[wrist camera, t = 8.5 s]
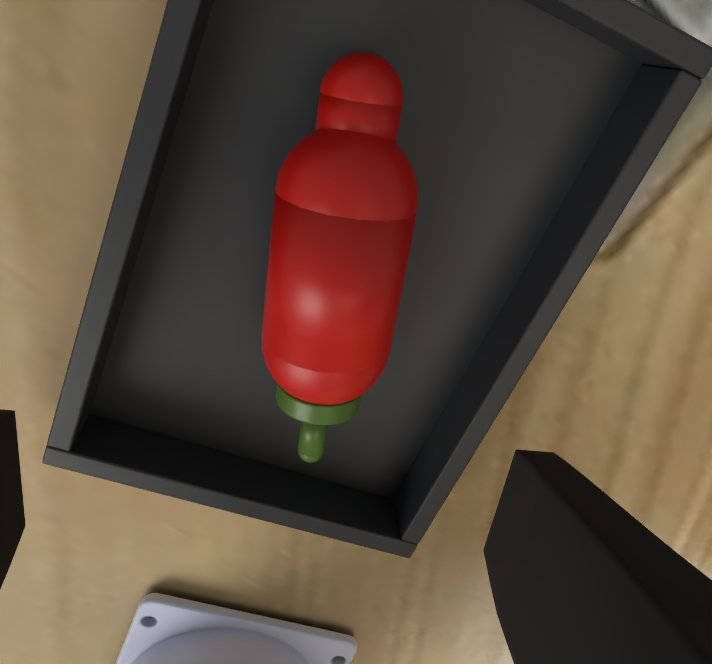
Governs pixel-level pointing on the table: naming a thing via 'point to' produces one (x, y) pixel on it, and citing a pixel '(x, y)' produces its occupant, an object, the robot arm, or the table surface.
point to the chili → (339, 250)
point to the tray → (426, 257)
